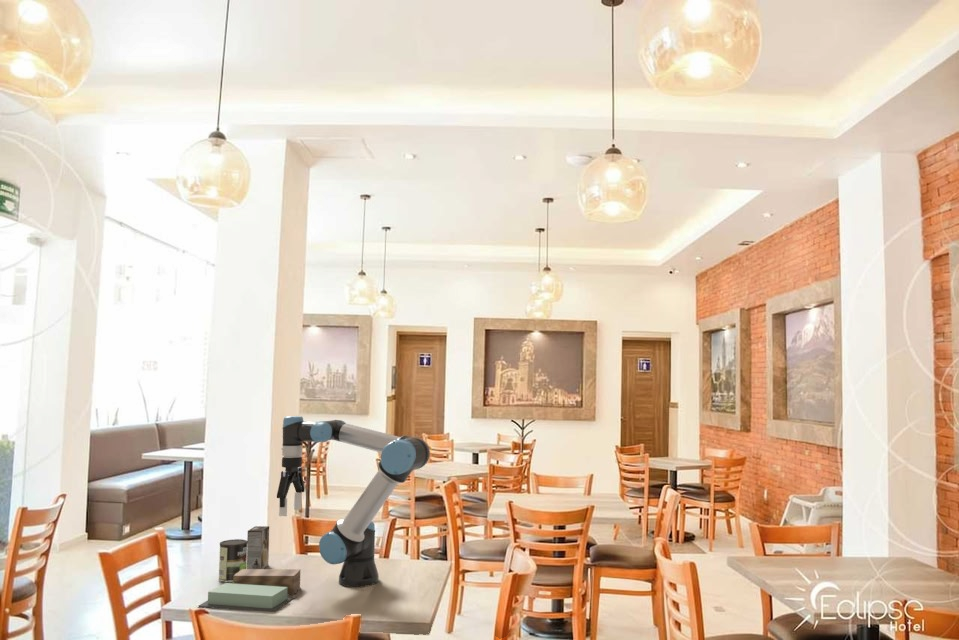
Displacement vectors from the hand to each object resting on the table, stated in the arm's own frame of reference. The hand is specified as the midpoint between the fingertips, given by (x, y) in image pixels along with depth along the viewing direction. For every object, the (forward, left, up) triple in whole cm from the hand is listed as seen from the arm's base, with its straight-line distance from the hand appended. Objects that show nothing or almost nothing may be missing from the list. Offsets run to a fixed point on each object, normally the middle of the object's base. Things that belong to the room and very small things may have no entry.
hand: (290, 512), depth 266 cm
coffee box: (+23, -21, -27) cm, 41 cm away
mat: (+5, +23, -27) cm, 36 cm away
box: (+4, +9, -27) cm, 29 cm away
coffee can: (+25, -4, -27) cm, 37 cm away
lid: (+5, +23, -26) cm, 35 cm away
